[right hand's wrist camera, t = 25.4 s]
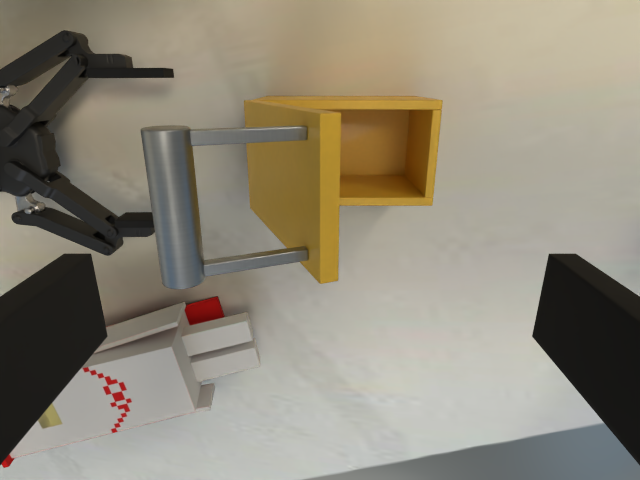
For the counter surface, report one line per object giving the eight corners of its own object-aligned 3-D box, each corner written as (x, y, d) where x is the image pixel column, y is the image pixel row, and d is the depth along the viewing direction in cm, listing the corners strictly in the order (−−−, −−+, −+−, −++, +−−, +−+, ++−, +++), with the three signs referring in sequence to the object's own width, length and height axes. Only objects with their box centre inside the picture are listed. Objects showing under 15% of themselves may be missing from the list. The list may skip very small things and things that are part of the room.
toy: (266, 411, 47) (-12, 482, 45) (264, 345, 60) (47, 398, 58) (238, 317, 43) (-69, 390, 41) (242, 267, 56) (8, 321, 54)
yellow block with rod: (341, 112, 21) (138, 118, 17) (338, 281, 24) (166, 312, 20) (257, 100, 35) (136, 101, 31) (262, 207, 38) (153, 218, 34)
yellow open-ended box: (415, 96, 45) (442, 100, 35) (409, 180, 48) (432, 205, 38) (266, 95, 45) (251, 99, 35) (269, 180, 48) (257, 205, 38)
